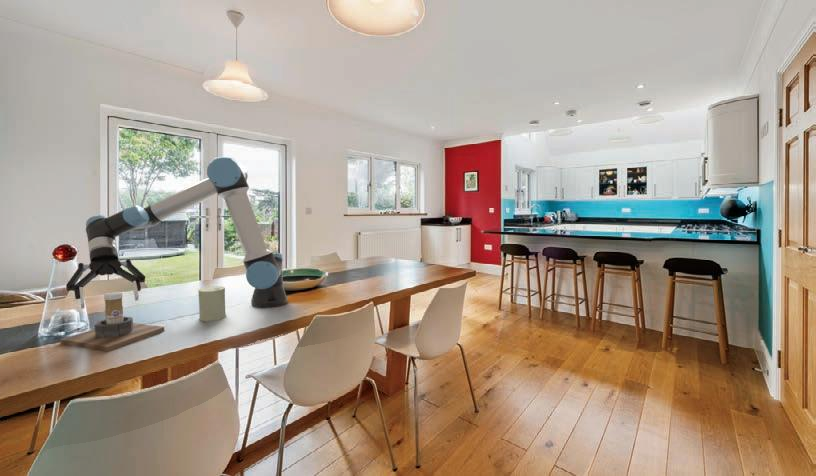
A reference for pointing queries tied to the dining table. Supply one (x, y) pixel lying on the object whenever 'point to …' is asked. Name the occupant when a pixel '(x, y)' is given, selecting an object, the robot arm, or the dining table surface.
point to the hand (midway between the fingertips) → (111, 302)
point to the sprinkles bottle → (113, 307)
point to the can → (212, 303)
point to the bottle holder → (112, 335)
